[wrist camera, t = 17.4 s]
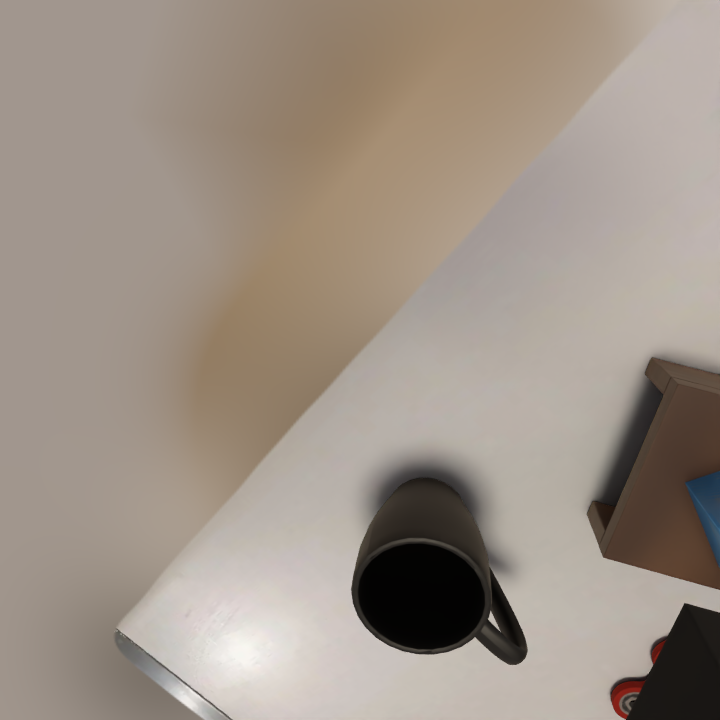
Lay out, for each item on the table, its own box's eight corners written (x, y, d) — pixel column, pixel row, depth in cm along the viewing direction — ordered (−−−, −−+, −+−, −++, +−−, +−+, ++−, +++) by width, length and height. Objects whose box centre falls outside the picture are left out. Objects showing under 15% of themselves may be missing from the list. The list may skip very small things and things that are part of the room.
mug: (468, 609, 48) (473, 714, 39) (347, 512, 46) (323, 597, 37) (547, 542, 45) (571, 639, 36) (420, 438, 44) (413, 510, 35)
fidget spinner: (668, 628, 46) (674, 640, 44) (753, 676, 46) (761, 691, 45) (601, 697, 48) (605, 711, 47) (681, 742, 49) (687, 758, 47)
